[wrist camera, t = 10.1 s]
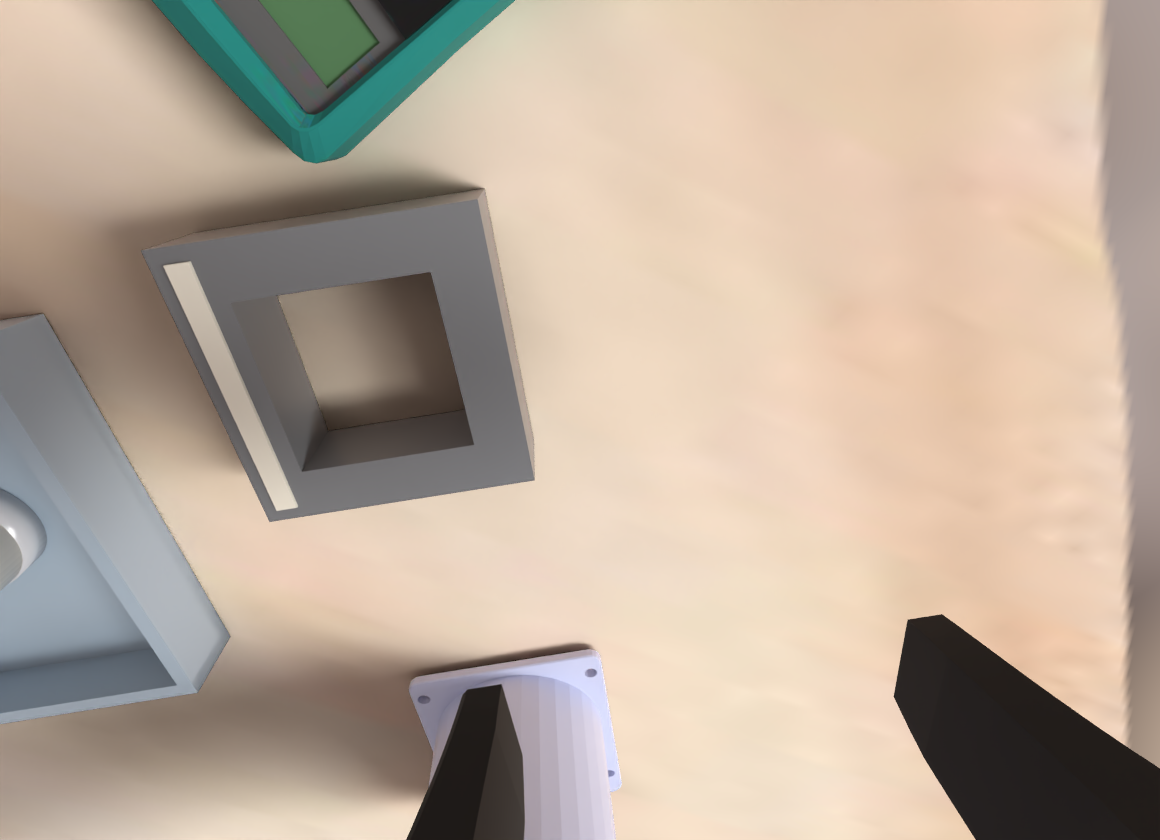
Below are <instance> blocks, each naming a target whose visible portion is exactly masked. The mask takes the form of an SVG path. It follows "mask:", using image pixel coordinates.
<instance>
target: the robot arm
mask: <svg viewBox="0 0 1160 840" xmlns="http://www.w3.org/2000/svg"><path fill="white" fill-rule="evenodd" d="M409 694H410V696H411V699H412V701H413V704H414V706H415V708H416V711H417V713H418V716H419V718H420V721H421V723H422V726H423V728H424V731H425V733H426V736H427V738H428V741H429V743H430V746H431V748H432V750H433V760H432V766H431V773H430V780H429V786H428V790H427V793H426V795H425V797H424V800H423V802H422V804H421V807H420V809H419V811H418V814H417V816H416V819H415V821H414V823H413V826H412V828H411V830H410V832H409V835H408V837H407V839H406V840H616V834H615V826H614V818H613V809H612V801H611V793H610V792H613V791H616V790H618V789H619V788H620V787H621V785H622V782H621V775H620V770H619V764H618V758H617V752H616V746H615V740H614V734H613V728H612V722H611V716H610V710H609V704H608V699H607V693H606V687H605V681H604V675H603V669H602V663H601V657H600V654H599V653H598V652H597V651H595V650H592V649H587V650H580V651H574V652H568V653H562V654H555V655H549V656H543V657H537V658H530V659H524V660H518V661H511V662H505V663H499V664H493V665H486V666H480V667H474V668H468V669H461V670H455V671H449V672H443V673H436V674H430V675H424V676H419V677H415V678H414V679H412V680H411V682H410V686H409ZM894 698H895V700H896V702H897V704H898V706H899V708H900V710H901V713H902V715H903V717H904V719H905V721H906V723H907V725H908V727H909V729H910V731H911V733H912V735H913V737H914V739H915V741H916V743H917V745H918V747H919V749H920V751H921V753H922V755H923V757H924V758H925V760H926V762H927V763H928V765H929V766H930V768H931V770H932V771H933V773H934V775H935V776H936V778H937V779H938V781H939V783H940V784H941V786H942V787H943V789H944V790H945V792H946V794H947V795H948V797H949V798H950V800H951V802H952V803H953V805H954V806H955V808H956V809H957V811H958V813H959V814H960V816H961V817H962V819H963V820H964V822H965V824H966V825H967V827H968V828H969V830H970V831H971V833H972V835H973V836H974V838H975V839H976V840H1160V768H1158V767H1157V766H1155V765H1154V764H1152V763H1151V762H1149V761H1148V760H1146V759H1144V758H1143V757H1141V756H1140V755H1138V754H1137V753H1135V752H1134V751H1132V750H1131V749H1129V748H1128V747H1126V746H1125V745H1123V744H1122V743H1120V742H1119V741H1117V740H1116V739H1114V738H1113V737H1112V736H1110V735H1109V734H1107V733H1106V732H1104V731H1103V730H1101V729H1100V728H1098V727H1097V726H1095V725H1094V724H1093V723H1091V722H1090V721H1088V720H1087V719H1085V718H1084V717H1083V716H1081V715H1080V714H1078V713H1077V712H1075V711H1074V710H1073V709H1071V708H1070V707H1068V706H1067V705H1065V704H1064V703H1063V702H1061V701H1060V700H1058V699H1057V698H1056V697H1054V696H1053V695H1051V694H1050V693H1049V692H1047V691H1046V690H1044V689H1043V688H1042V687H1040V686H1039V685H1037V684H1036V683H1035V682H1033V681H1032V680H1031V679H1029V678H1028V677H1026V676H1025V675H1024V674H1022V673H1021V672H1020V671H1018V670H1017V669H1016V668H1014V667H1013V666H1011V665H1010V664H1009V663H1007V662H1006V661H1005V660H1003V659H1002V658H1001V657H999V656H998V655H997V654H995V653H994V652H992V651H991V650H990V649H988V648H987V647H986V646H984V645H983V644H982V643H980V642H979V641H978V640H976V639H975V638H974V637H972V636H971V635H970V634H968V633H967V632H965V631H964V630H963V629H961V628H960V627H959V626H957V625H956V624H955V623H953V622H952V621H950V620H949V619H948V618H946V617H945V616H944V615H942V614H941V615H935V616H929V617H922V618H916V619H910V620H908V621H907V627H906V632H905V638H904V643H903V649H902V654H901V660H900V665H899V671H898V676H897V682H896V687H895V693H894Z"/></svg>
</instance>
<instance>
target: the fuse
mask: <svg viewBox="0 0 1160 840" xmlns="http://www.w3.org/2000/svg"><path fill="white" fill-rule="evenodd" d="M46 545H47V535H46V531H45V528H44V526H43V524H42V522H41V520H40V519H39V517H38V516H37V515H36V514H35V512H34V511H33V510H32V509H31V508H30V507H28V506H27V505H26V504H25V503H24V502H22V501H21V500H19V499H18V498H16V497H15V496H13V495H11V494H9V493H8V492H6V491H3V490H1V489H0V591H1V590H2V589H4V588H5V587H6V586H7V585H8V584H10V583H11V582H13V581H14V580H16V579H17V578H18V577H19V576H20V575H21V574H22V573H23V572H24V571H25V570H26V569H27V568H29V567H30V566H31V565H32V564H33V563H34V562H35V561H36V560H37V559H38V558H39V557H40V556H41V555H42V554H43V552H44V550H45V548H46Z"/></svg>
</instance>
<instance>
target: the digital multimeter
mask: <svg viewBox="0 0 1160 840" xmlns="http://www.w3.org/2000/svg"><path fill="white" fill-rule="evenodd" d="M152 1H153V2H154V3H155V4H156V6H157V7H158V8H159V9H160V10H161V11H162V13H163V14H164V15H165V16H166V17H167V18H168V20H169V21H170V22H171V23H172V24H173V25H174V26H175V28H176V29H177V30H178V31H179V32H180V33H181V35H182V36H183V37H184V38H185V39H186V40H187V42H188V43H189V44H190V45H191V46H192V47H193V49H194V50H195V51H196V52H197V53H198V54H199V55H200V56H201V57H202V58H203V60H204V61H205V62H206V63H207V64H208V65H209V66H210V67H211V68H212V69H213V70H214V71H215V72H216V73H217V74H218V75H219V77H220V78H221V79H222V80H223V81H224V82H225V83H226V84H227V85H228V86H229V87H230V88H231V89H232V90H233V91H234V92H235V94H236V95H237V96H238V97H239V98H240V99H241V100H242V101H243V102H244V103H245V104H246V105H247V106H248V107H249V108H250V109H251V110H252V111H253V112H254V113H255V114H256V115H257V116H258V117H259V118H260V119H261V120H262V121H263V122H264V123H265V124H266V125H267V126H268V127H269V128H270V129H271V131H272V132H273V133H274V134H275V135H276V136H277V137H278V138H279V139H280V140H281V141H282V142H283V143H284V144H285V145H286V146H287V147H288V148H289V149H290V150H291V151H292V152H293V153H294V154H296V155H297V156H298V157H300V158H301V159H302V160H304V161H307V162H312V163H320V162H325V161H331V160H336V159H338V158H341V157H343V156H346V155H347V154H348V153H349V152H350V151H351V150H352V149H353V148H354V147H355V146H356V145H357V144H359V143H360V142H361V141H362V140H363V139H364V138H365V137H366V136H367V135H368V134H369V133H370V132H371V131H372V130H373V129H374V128H376V127H377V126H378V125H379V124H380V123H381V122H382V121H383V120H384V119H385V118H386V117H387V116H388V115H389V114H390V113H392V112H393V111H394V110H395V109H396V108H397V107H398V106H399V105H400V104H401V103H402V102H403V101H404V100H405V99H406V98H408V97H409V96H410V95H411V94H412V93H413V92H414V91H415V90H416V89H417V88H418V87H419V86H420V85H421V84H422V83H424V82H425V81H426V80H427V79H428V78H429V77H430V76H431V75H432V74H433V73H434V72H435V71H436V70H437V69H438V68H440V67H441V66H442V65H443V64H444V63H445V62H446V61H447V60H448V59H449V58H450V57H451V56H452V55H453V54H454V53H456V52H457V51H458V50H459V49H460V48H461V47H462V46H463V45H464V44H466V43H467V42H468V41H469V40H470V39H471V38H472V37H474V36H475V35H476V34H477V33H478V32H479V31H480V30H482V29H483V28H484V27H485V26H486V25H487V24H489V23H490V22H491V21H492V20H493V19H494V18H495V17H497V16H498V15H499V14H500V13H501V12H502V11H503V10H505V9H506V8H507V7H508V6H509V5H510V4H511V3H513V2H514V1H515V0H451V1H450V0H152ZM449 1H450V2H449ZM448 2H449V3H448ZM447 3H448V4H447ZM442 7H443V8H442ZM441 8H442V9H441ZM440 9H441V10H440ZM439 10H440V11H439ZM435 13H436V14H435ZM434 14H435V15H434ZM433 15H434V16H433ZM432 16H433V17H432ZM431 17H432V18H431ZM427 20H428V21H427ZM426 21H427V22H426ZM425 22H426V23H425ZM424 23H425V24H424ZM419 27H420V28H419ZM418 28H419V29H418ZM417 29H418V30H417ZM412 33H413V34H412ZM411 34H412V35H411ZM410 35H411V36H410ZM409 36H410V37H409ZM284 86H285V87H286V88H285V87H284ZM288 91H289V92H290V93H289V92H288ZM292 96H293V97H294V98H295V99H294V98H293V97H292ZM295 100H296V101H297V102H298V103H299V104H298V103H297V102H296V101H295ZM299 105H300V106H301V107H302V108H303V109H304V110H303V109H302V108H301V107H300V106H299Z"/></svg>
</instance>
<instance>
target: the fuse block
mask: <svg viewBox="0 0 1160 840" xmlns="http://www.w3.org/2000/svg"><path fill="white" fill-rule="evenodd" d="M141 252H142V254H143V256H144V258H145V261H146V263H147V265H148V267H149V269H150V271H151V273H152V275H153V277H154V279H155V282H156V284H157V286H158V288H159V290H160V292H161V294H162V296H163V298H164V301H165V303H166V305H167V307H168V309H169V311H170V313H171V315H172V317H173V319H174V322H175V324H176V326H177V328H178V330H179V332H180V334H181V336H182V338H183V341H184V343H185V345H186V347H187V349H188V351H189V353H190V355H191V357H192V359H193V362H194V364H195V366H196V368H197V370H198V372H199V374H200V376H201V378H202V381H203V383H204V385H205V387H206V389H207V391H208V393H209V395H210V397H211V400H212V402H213V404H214V406H215V408H216V410H217V412H218V414H219V416H220V418H221V421H222V423H223V425H224V427H225V429H226V431H227V433H228V435H229V437H230V440H231V442H232V444H233V446H234V448H235V450H236V452H237V454H238V456H239V458H240V461H241V463H242V465H243V467H244V469H245V471H246V473H247V475H248V477H249V480H250V482H251V484H252V486H253V488H254V490H255V492H256V494H257V496H258V498H259V501H260V503H261V505H262V507H263V509H264V511H265V513H266V515H267V517H268V520H269V522H272V521H278V520H285V519H291V518H297V517H304V516H310V515H317V514H323V513H329V512H336V511H342V510H348V509H355V508H361V507H368V506H374V505H380V504H387V503H393V502H399V501H406V500H412V499H418V498H425V497H431V496H438V495H444V494H450V493H457V492H463V491H469V490H476V489H482V488H489V487H495V486H501V485H508V484H514V483H520V482H527V481H533V480H535V469H534V437H533V432H532V427H531V422H530V417H529V412H528V407H527V402H526V397H525V392H524V387H523V381H522V376H521V371H520V366H519V361H518V356H517V351H516V346H515V341H514V336H513V330H512V325H511V320H510V315H509V310H508V305H507V300H506V295H505V290H504V285H503V280H502V274H501V269H500V264H499V259H498V254H497V249H496V244H495V239H494V234H493V229H492V224H491V218H490V213H489V208H488V203H487V198H486V193H485V189H479V190H472V191H466V192H459V193H453V194H446V195H439V196H433V197H426V198H420V199H413V200H407V201H400V202H393V203H387V204H380V205H374V206H367V207H361V208H354V209H347V210H341V211H334V212H328V213H321V214H315V215H308V216H301V217H295V218H288V219H282V220H275V221H269V222H262V223H255V224H249V225H242V226H236V227H229V228H223V229H216V230H210V231H203V232H196V233H193V234H190V235H186V236H183V237H180V238H177V239H174V240H171V241H168V242H165V243H162V244H159V245H156V246H153V247H150V248H147V249H144V250H141ZM427 272H431V275H432V279H433V283H434V287H435V291H436V295H437V299H438V303H439V307H440V311H441V315H442V319H443V323H444V327H445V331H446V335H447V339H448V343H449V347H450V351H451V355H452V359H453V363H454V367H455V370H456V374H457V378H458V382H459V386H460V390H461V394H462V398H463V402H464V406H465V410H460V411H454V412H447V413H441V414H434V415H428V416H422V417H415V418H409V419H402V420H396V421H389V422H383V423H377V424H370V425H364V426H357V427H351V428H345V429H338V430H332V431H328V429H327V426H326V423H325V421H324V418H323V416H322V413H321V410H320V408H319V405H318V403H317V400H316V397H315V395H314V392H313V389H312V387H311V384H310V382H309V379H308V376H307V374H306V371H305V369H304V366H303V363H302V361H301V358H300V355H299V353H298V350H297V348H296V345H295V342H294V340H293V337H292V334H291V332H290V329H289V327H288V324H287V321H286V319H285V316H284V314H283V311H282V308H281V306H280V303H279V300H278V298H277V295H284V294H290V293H297V292H304V291H310V290H317V289H323V288H330V287H336V286H343V285H349V284H356V283H362V282H369V281H375V280H382V279H388V278H395V277H401V276H408V275H414V274H421V273H427Z"/></svg>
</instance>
